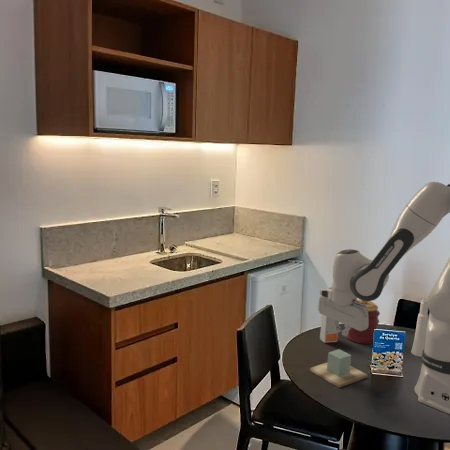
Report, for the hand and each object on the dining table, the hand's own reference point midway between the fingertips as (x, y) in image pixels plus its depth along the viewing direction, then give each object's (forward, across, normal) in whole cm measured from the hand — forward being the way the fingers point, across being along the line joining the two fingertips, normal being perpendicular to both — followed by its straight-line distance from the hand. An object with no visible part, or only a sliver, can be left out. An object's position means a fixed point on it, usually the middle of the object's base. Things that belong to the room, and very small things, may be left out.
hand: (341, 333), depth 169 cm
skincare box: (+15, +22, -18) cm, 32 cm away
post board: (+15, 0, 0) cm, 15 cm away
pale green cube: (+14, 0, 0) cm, 14 cm away
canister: (+15, +17, -32) cm, 39 cm away
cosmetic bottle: (+15, -5, -40) cm, 43 cm away
